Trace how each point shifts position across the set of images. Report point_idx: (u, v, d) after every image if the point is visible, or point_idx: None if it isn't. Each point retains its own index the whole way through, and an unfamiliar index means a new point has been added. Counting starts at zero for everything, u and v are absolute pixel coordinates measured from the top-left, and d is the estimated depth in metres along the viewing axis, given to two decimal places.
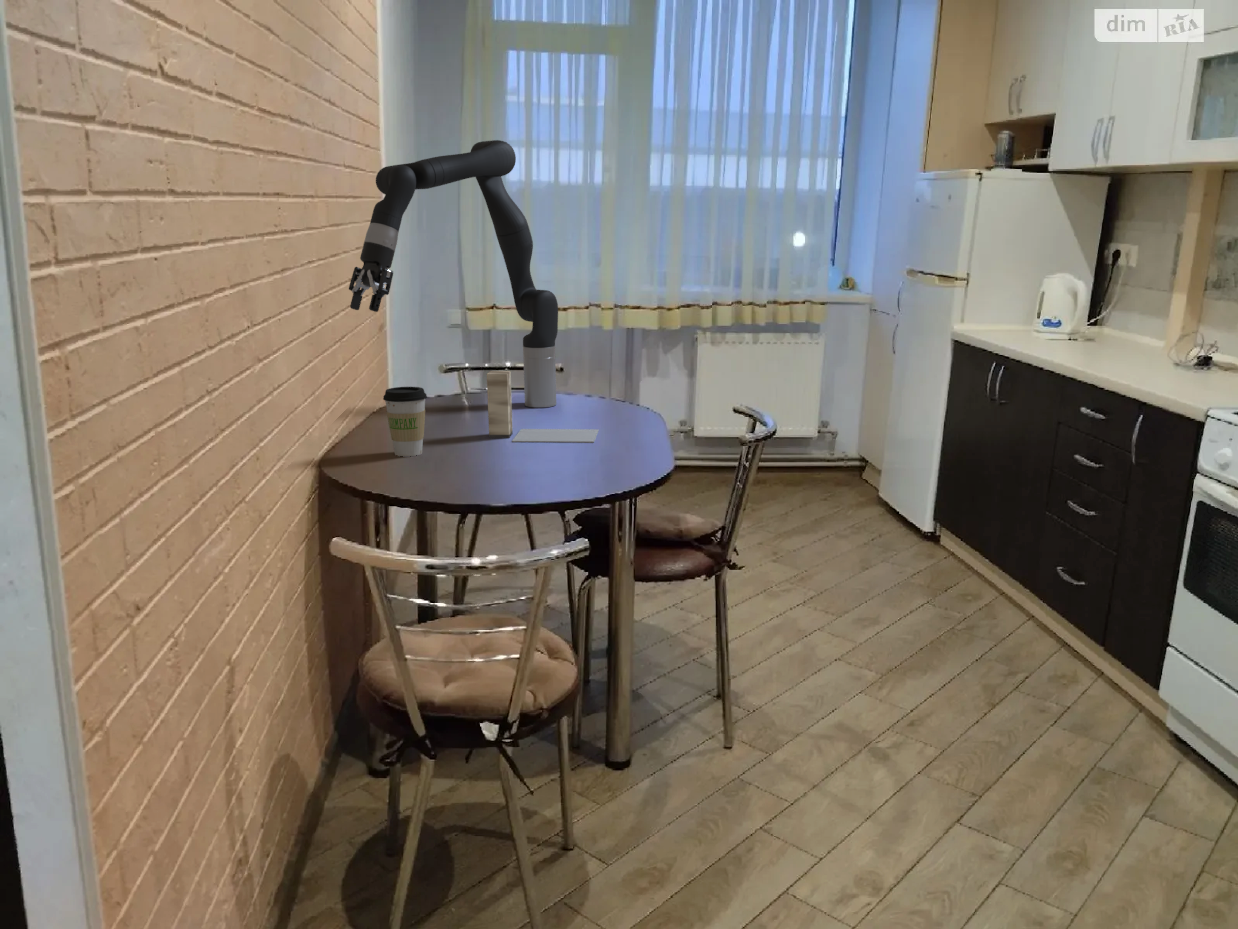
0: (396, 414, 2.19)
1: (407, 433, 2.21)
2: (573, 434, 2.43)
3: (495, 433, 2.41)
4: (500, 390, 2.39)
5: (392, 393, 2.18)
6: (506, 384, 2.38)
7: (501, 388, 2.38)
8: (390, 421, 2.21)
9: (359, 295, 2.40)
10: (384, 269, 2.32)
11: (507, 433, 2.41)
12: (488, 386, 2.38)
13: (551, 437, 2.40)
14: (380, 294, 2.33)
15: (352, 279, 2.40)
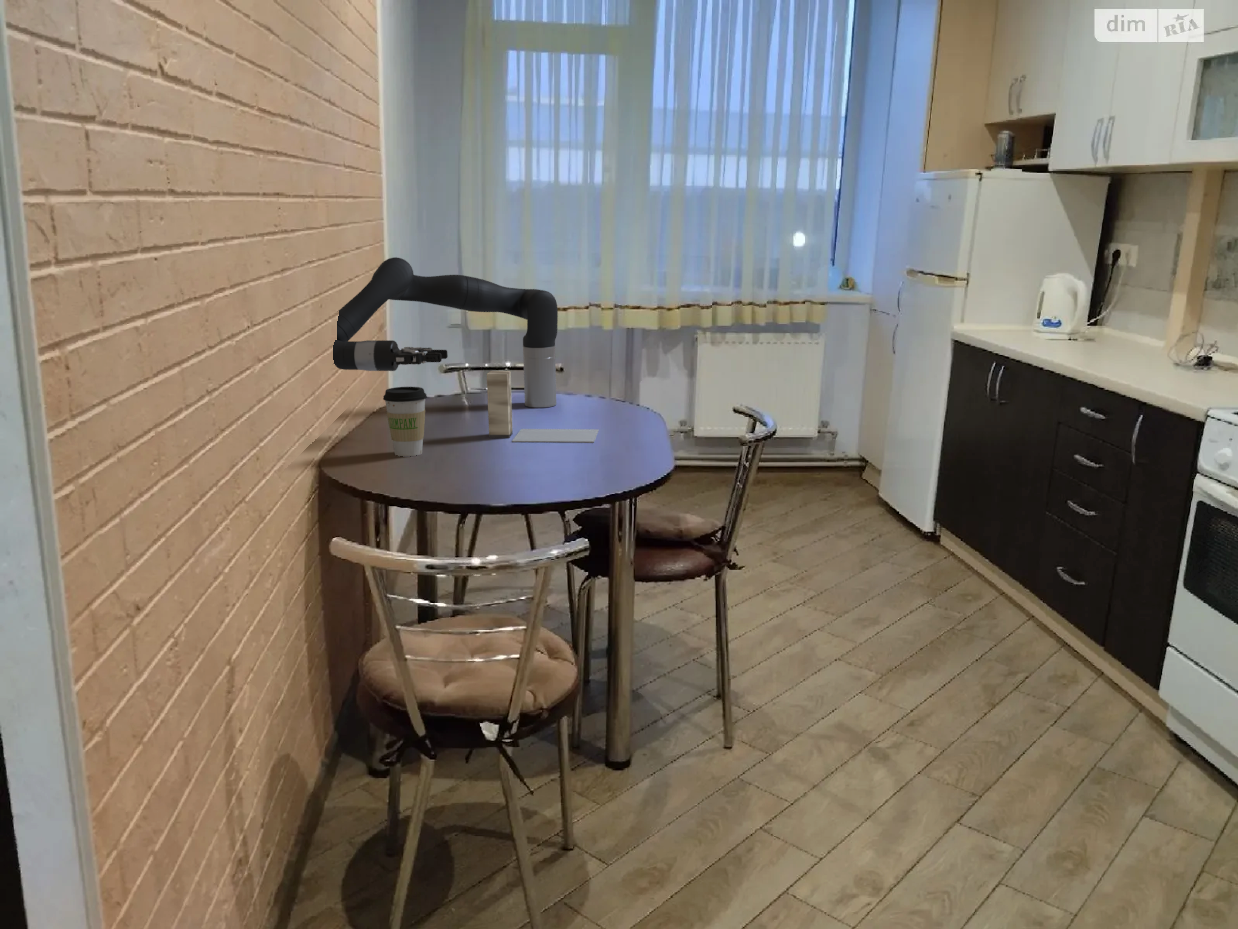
0: (396, 414, 2.19)
1: (407, 433, 2.21)
2: (573, 434, 2.43)
3: (495, 433, 2.41)
4: (500, 390, 2.39)
5: (392, 393, 2.18)
6: (506, 384, 2.38)
7: (501, 388, 2.38)
8: (390, 421, 2.21)
9: (432, 353, 2.43)
10: (397, 364, 2.34)
11: (507, 433, 2.41)
12: (488, 386, 2.38)
13: (551, 437, 2.40)
14: (423, 358, 2.36)
15: None
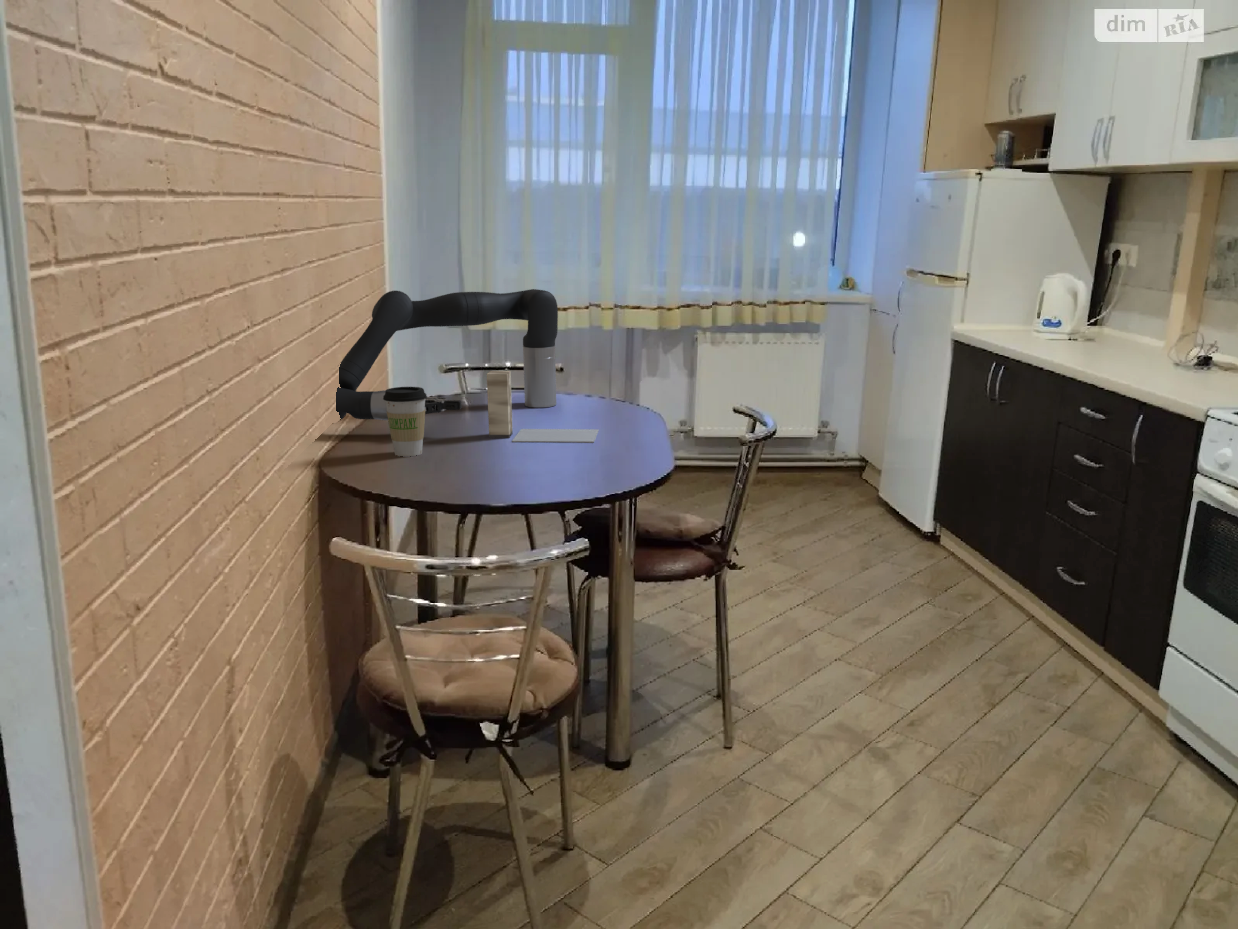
0: (396, 414, 2.19)
1: (407, 433, 2.21)
2: (573, 434, 2.43)
3: (495, 433, 2.41)
4: (500, 390, 2.39)
5: (392, 393, 2.18)
6: (506, 384, 2.38)
7: (501, 388, 2.38)
8: (390, 421, 2.21)
9: None
10: None
11: (507, 433, 2.41)
12: (488, 386, 2.38)
13: (551, 437, 2.40)
14: (442, 406, 2.41)
15: None
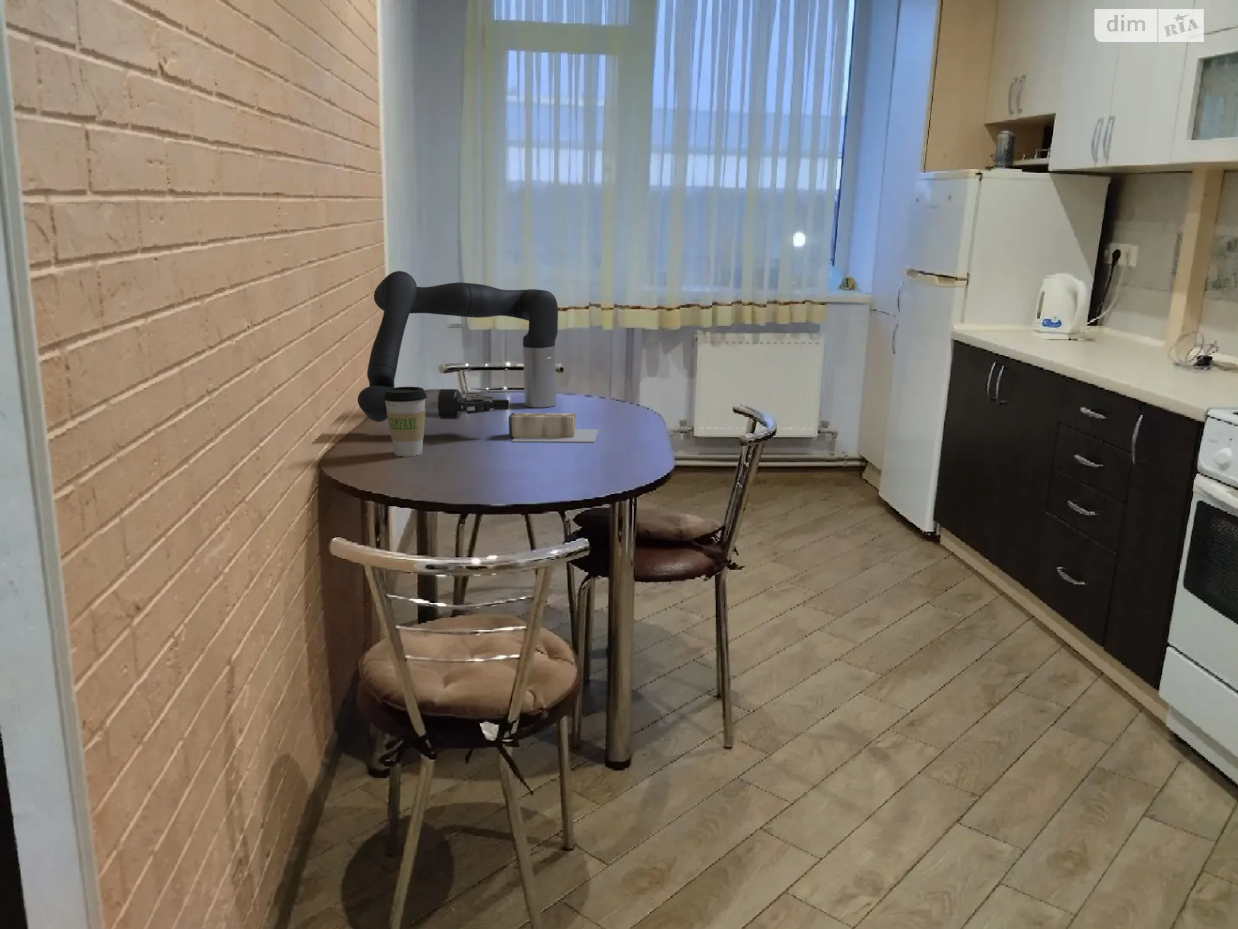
0: (396, 414, 2.19)
1: (407, 433, 2.21)
2: None
3: (513, 423, 2.40)
4: (556, 429, 2.40)
5: (392, 393, 2.18)
6: (562, 436, 2.40)
7: (558, 431, 2.40)
8: (390, 421, 2.21)
9: None
10: (469, 413, 2.37)
11: (513, 435, 2.41)
12: (560, 418, 2.39)
13: (551, 437, 2.40)
14: (491, 406, 2.40)
15: None
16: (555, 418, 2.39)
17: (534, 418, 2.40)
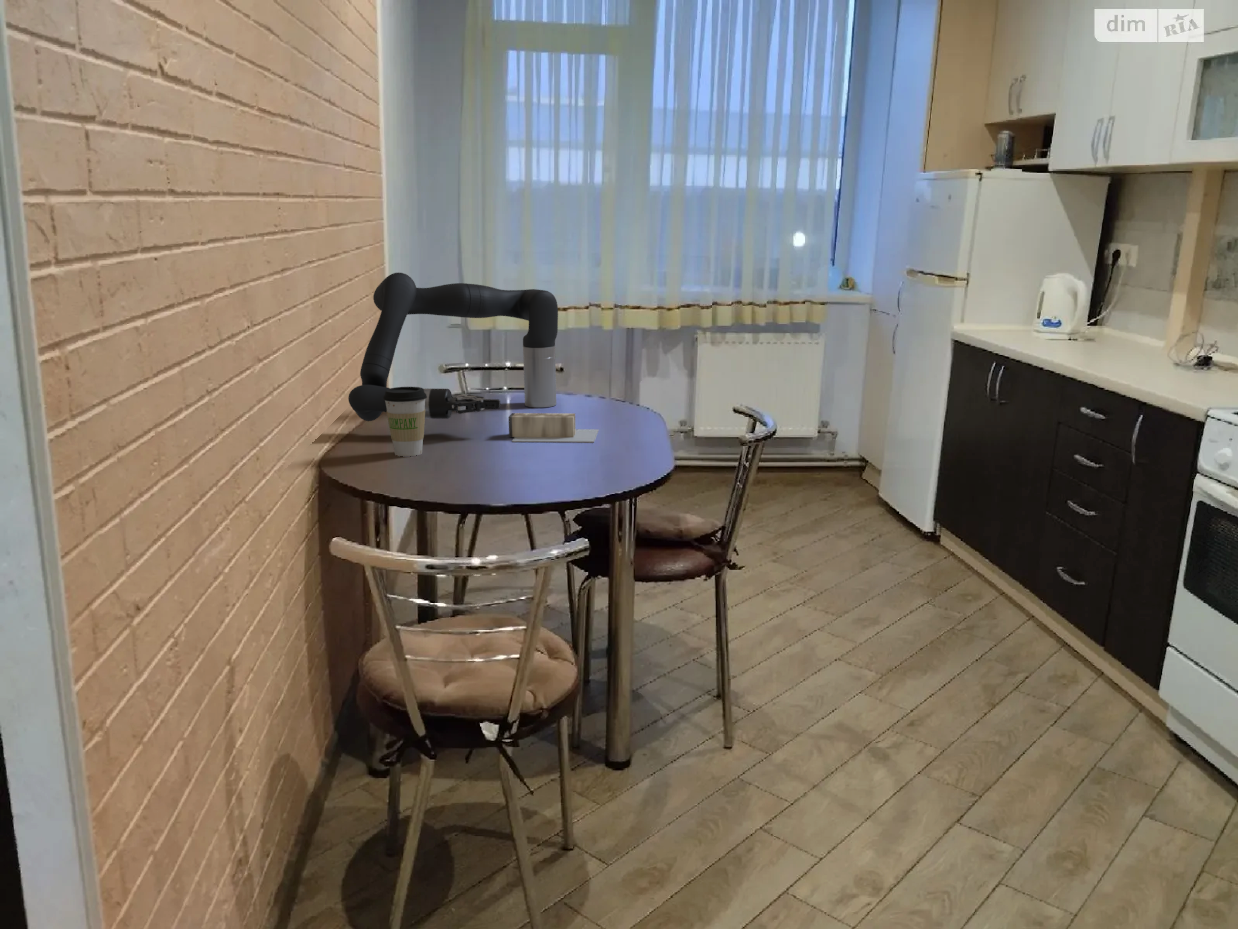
0: (396, 414, 2.19)
1: (407, 433, 2.21)
2: None
3: (513, 423, 2.40)
4: (556, 429, 2.40)
5: (392, 393, 2.18)
6: (562, 436, 2.40)
7: (558, 431, 2.40)
8: (390, 421, 2.21)
9: None
10: (460, 412, 2.37)
11: (513, 435, 2.41)
12: (560, 418, 2.39)
13: (551, 437, 2.40)
14: (482, 405, 2.40)
15: None
16: (555, 418, 2.39)
17: (534, 418, 2.40)
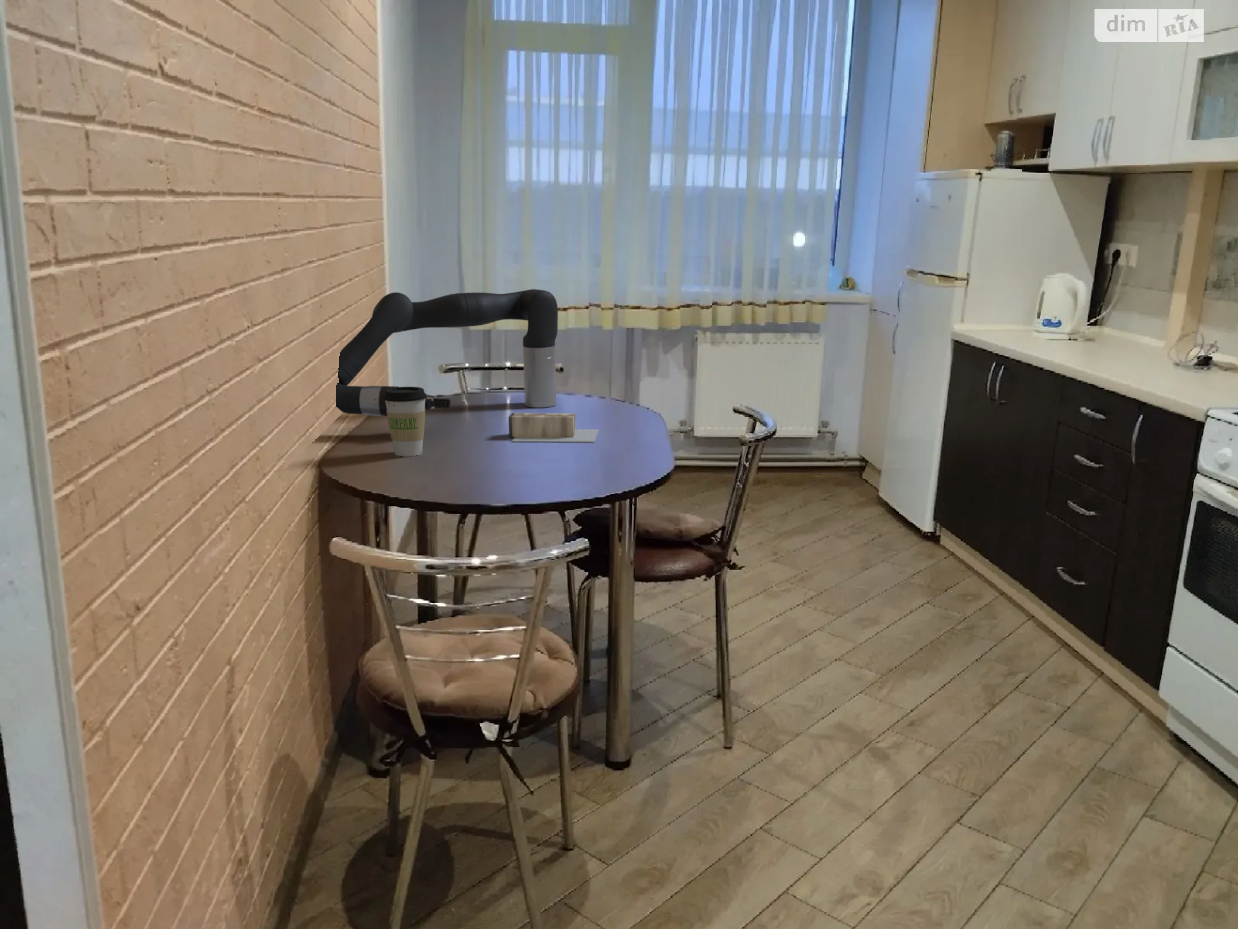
0: (396, 414, 2.19)
1: (407, 433, 2.21)
2: None
3: (513, 423, 2.40)
4: (556, 429, 2.40)
5: (392, 393, 2.18)
6: (562, 436, 2.40)
7: (558, 431, 2.40)
8: (390, 421, 2.21)
9: None
10: None
11: (513, 435, 2.41)
12: (560, 418, 2.39)
13: (551, 437, 2.40)
14: (432, 404, 2.41)
15: None
16: (555, 418, 2.39)
17: (534, 418, 2.40)
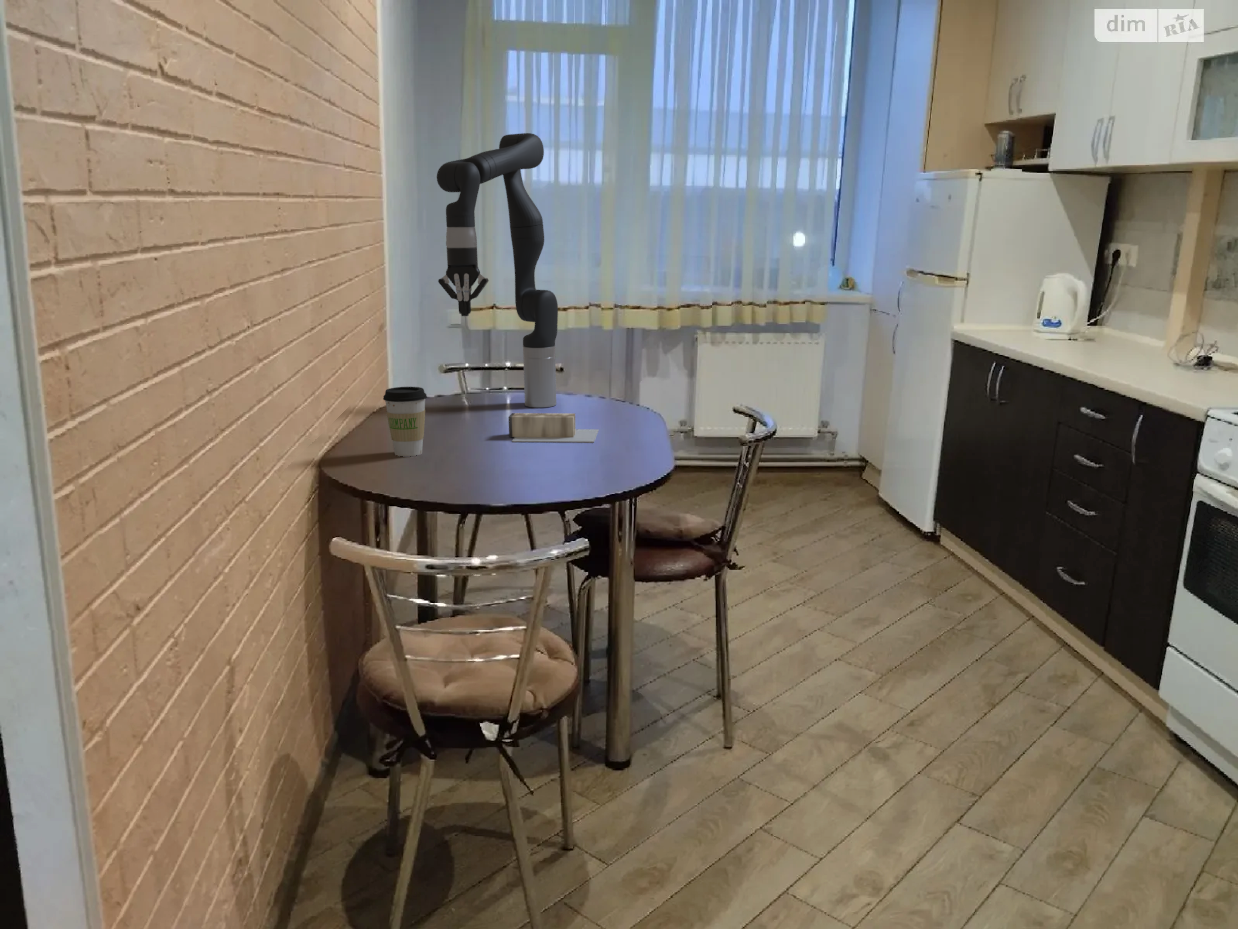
0: (396, 414, 2.19)
1: (407, 433, 2.21)
2: None
3: (513, 423, 2.40)
4: (556, 429, 2.40)
5: (392, 393, 2.18)
6: (562, 436, 2.40)
7: (558, 431, 2.40)
8: (390, 421, 2.21)
9: (464, 301, 2.47)
10: (485, 281, 2.44)
11: (513, 435, 2.41)
12: (560, 418, 2.39)
13: (551, 437, 2.40)
14: (471, 299, 2.46)
15: (447, 289, 2.45)
16: (555, 418, 2.39)
17: (534, 418, 2.40)
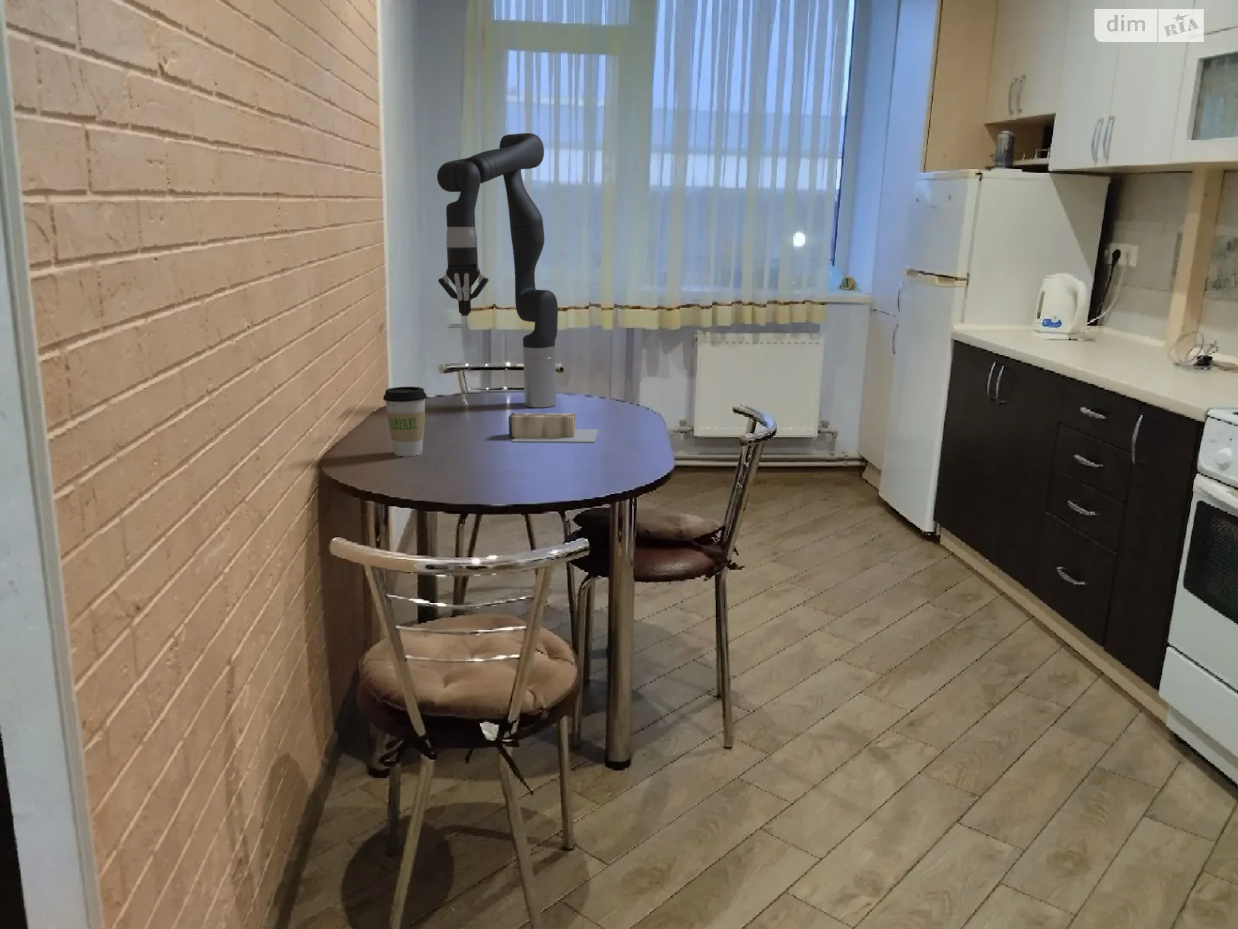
0: (396, 414, 2.19)
1: (407, 433, 2.21)
2: None
3: (513, 423, 2.40)
4: (556, 429, 2.40)
5: (392, 393, 2.18)
6: (562, 436, 2.40)
7: (558, 431, 2.40)
8: (390, 421, 2.21)
9: (464, 301, 2.47)
10: (485, 280, 2.44)
11: (513, 435, 2.41)
12: (560, 418, 2.39)
13: (551, 437, 2.40)
14: (471, 299, 2.46)
15: (447, 289, 2.45)
16: (555, 418, 2.39)
17: (534, 418, 2.40)
